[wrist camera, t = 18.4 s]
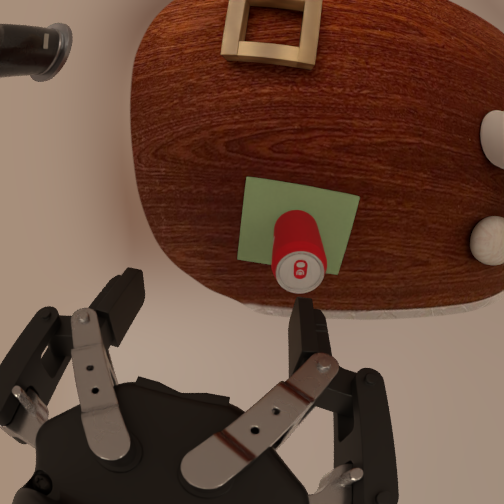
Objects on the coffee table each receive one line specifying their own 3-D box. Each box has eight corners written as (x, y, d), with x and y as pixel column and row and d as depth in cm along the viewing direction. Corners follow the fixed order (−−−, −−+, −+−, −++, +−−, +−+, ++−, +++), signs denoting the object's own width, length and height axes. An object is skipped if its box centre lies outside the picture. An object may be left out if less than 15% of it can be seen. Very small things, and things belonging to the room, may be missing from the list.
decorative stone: (513, 222, 33) (527, 233, 29) (495, 262, 38) (508, 275, 33) (476, 202, 33) (492, 213, 29) (457, 248, 38) (471, 263, 33)
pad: (237, 258, 43) (237, 259, 43) (246, 176, 37) (246, 176, 36) (337, 273, 42) (337, 274, 42) (359, 196, 36) (360, 196, 36)
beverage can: (273, 246, 41) (269, 296, 30) (274, 207, 38) (270, 246, 28) (315, 248, 40) (325, 298, 30) (319, 208, 37) (332, 248, 27)
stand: (226, 60, 29) (220, 54, 26) (237, -6, 24) (232, -17, 20) (311, 70, 29) (314, 64, 25) (319, 3, 24) (323, -8, 20)
